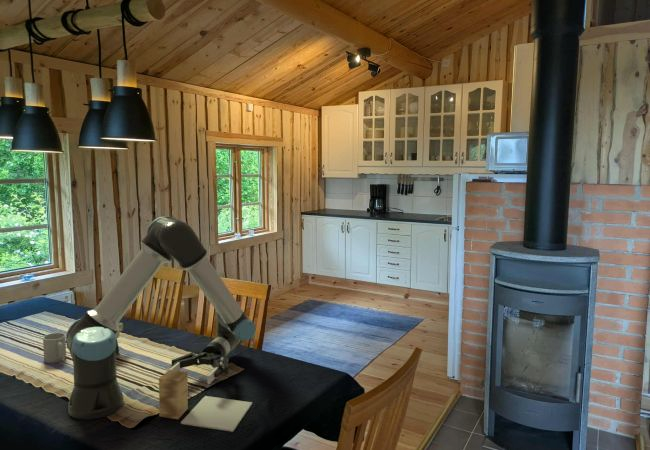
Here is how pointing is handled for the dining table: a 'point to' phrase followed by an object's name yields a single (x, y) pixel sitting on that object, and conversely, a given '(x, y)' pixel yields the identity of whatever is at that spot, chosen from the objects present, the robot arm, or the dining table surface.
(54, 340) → the cup
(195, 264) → the robot arm
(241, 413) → the cream square board
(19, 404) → the dining table surface
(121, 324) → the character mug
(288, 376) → the dining table surface
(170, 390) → the oak block
